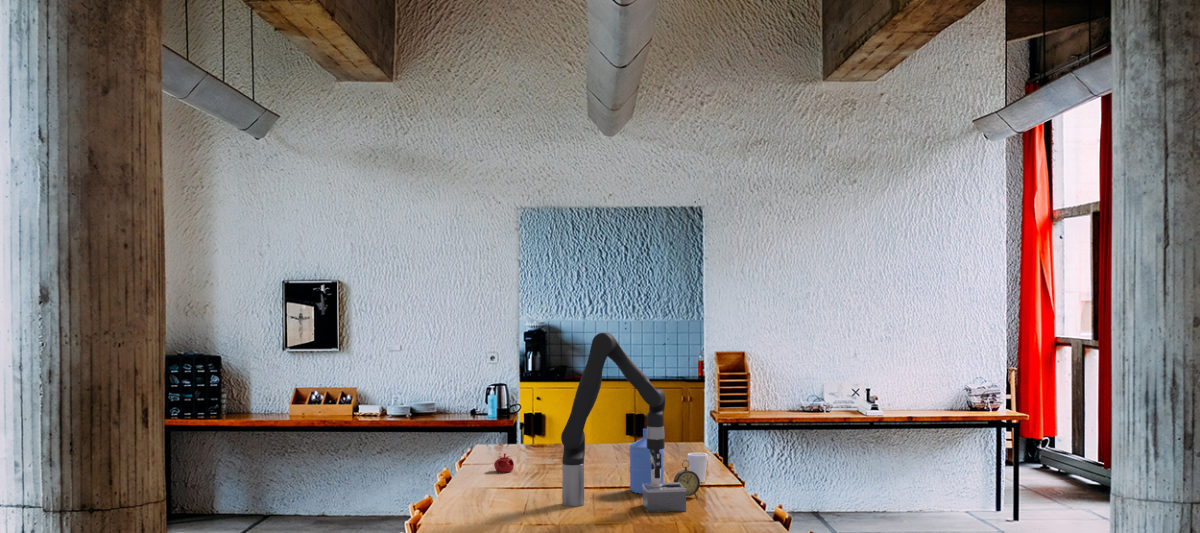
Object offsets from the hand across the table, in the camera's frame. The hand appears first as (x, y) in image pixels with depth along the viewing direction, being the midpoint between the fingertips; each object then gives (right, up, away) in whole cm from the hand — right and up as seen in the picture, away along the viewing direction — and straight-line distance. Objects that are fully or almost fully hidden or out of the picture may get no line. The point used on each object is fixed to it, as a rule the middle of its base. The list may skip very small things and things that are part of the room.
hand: (655, 476), depth 377 cm
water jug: (-2, -15, +33) cm, 37 cm away
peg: (0, -8, 0) cm, 8 cm away
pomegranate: (-72, -17, +83) cm, 111 cm away
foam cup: (+23, -15, +53) cm, 60 cm away
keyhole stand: (+3, -13, 0) cm, 14 cm away
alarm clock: (+15, -14, +19) cm, 28 cm away
